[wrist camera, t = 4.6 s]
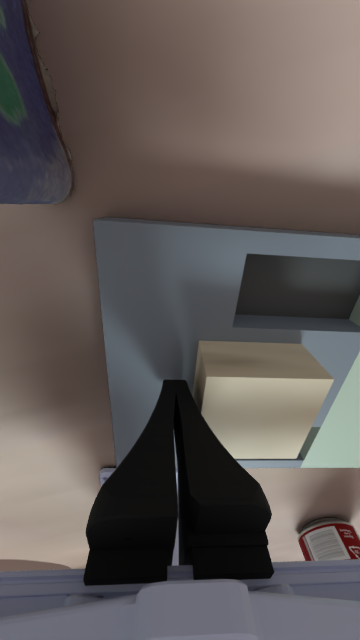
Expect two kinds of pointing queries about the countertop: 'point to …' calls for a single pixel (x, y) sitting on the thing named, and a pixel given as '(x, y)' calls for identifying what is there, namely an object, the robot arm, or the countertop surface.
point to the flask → (28, 118)
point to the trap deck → (228, 317)
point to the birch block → (259, 396)
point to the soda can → (329, 540)
